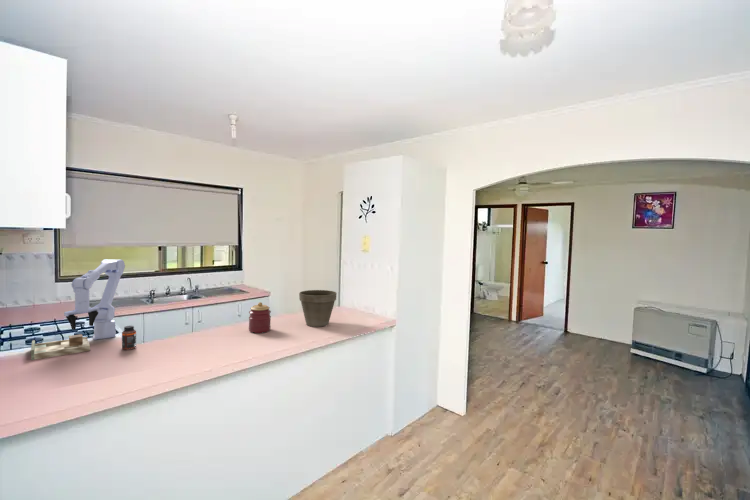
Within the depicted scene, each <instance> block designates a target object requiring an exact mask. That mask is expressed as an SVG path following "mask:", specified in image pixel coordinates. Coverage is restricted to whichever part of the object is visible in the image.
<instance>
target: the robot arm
mask: <svg viewBox="0 0 750 500" xmlns="http://www.w3.org/2000/svg"><path fill="white" fill-rule="evenodd" d="M125 267H126V265H125V261H124V260H123V259H107V258H104V259H103V260H100V264H99V265H98V266H97V267H96V268H95V269H89V270H88V271H87V272H86V273H84V274H82V275H81V276H79V277H76V278H74V279H73V280H72V282H71V284H70V285H71V288H72V289H73V291H72V292H73V293H74V309H73V310H68V311H64V312H63V316H64V317H65V318H66V319H67V320H68V322H69V325H70V327H71V330H73V331H74V330H76V328H77V327H76V323H77V318H78V317H77V316H76V315H81V314H82V315H83V314H88V326H89V327H94V328H93V330H94V331H93V335H92V338H93V340H94V341H95V340H101V339H102V340H103V339H109V338H116V337H117V336H116V333H117V332H116V320H115V318H114V317H115V312H116V311H115V310H116V308H115V306H113V305H112V303H113V300H114V297H115V294H116V291H117V289H118V286H119V282H120V279H121V276H123V273H124V271H125ZM103 273H104V274H105V275H106V276H108V279H107V282H106V285H105V286H104V287H105V288H104V290H103V293H102V295H101V299H100V302H99V303H97V304H96V305H94V306H93V307H90V289H91V288H92V287H93V284H94V283H95V282H96V281H97V280H98V279H100V277H101V275H102V274H103Z"/></svg>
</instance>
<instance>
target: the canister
mask: <svg viewBox="0 0 750 500" xmlns="http://www.w3.org/2000/svg"><path fill="white" fill-rule="evenodd" d="M271 312H272V310H270V307H269V306H268V305H267V304H263V302H261V301H260V302H258V303H257V304H256V305H255V304H254V305H253V306H252V307H250V310H249V311H248V313H249V317H248V331H250V333H252V332H255V333H254V334H263V333H262V332H265V333H268V332H270V331H271V327H272V326H271V317H272V316H271ZM269 330H270V331H269ZM267 331H268V332H267Z"/></svg>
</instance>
